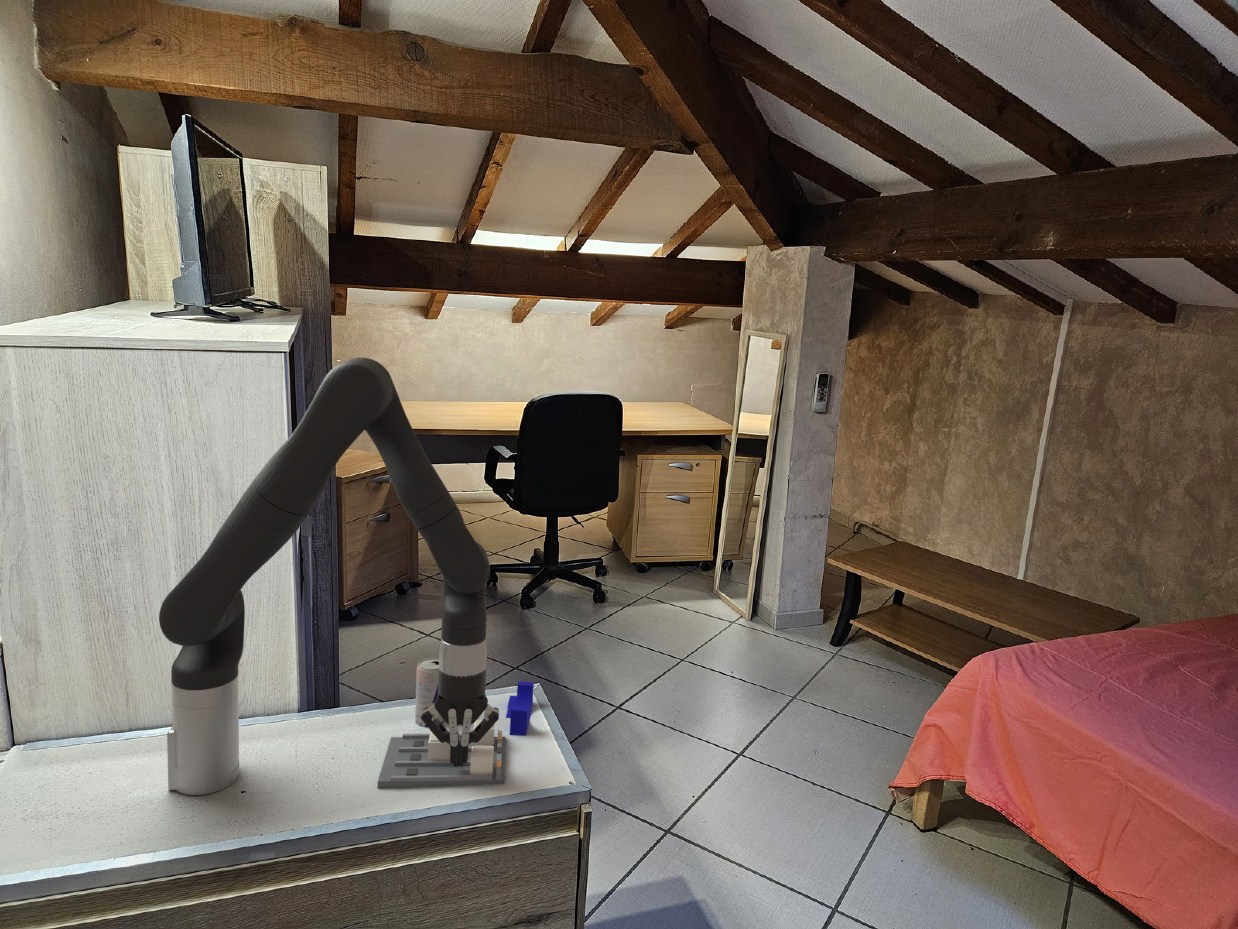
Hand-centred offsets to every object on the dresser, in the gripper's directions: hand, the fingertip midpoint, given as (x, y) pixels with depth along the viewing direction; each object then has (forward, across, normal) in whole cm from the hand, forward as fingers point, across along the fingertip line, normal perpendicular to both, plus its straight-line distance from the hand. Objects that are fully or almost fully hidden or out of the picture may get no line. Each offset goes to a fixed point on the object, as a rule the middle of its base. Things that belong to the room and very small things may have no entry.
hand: (458, 764), depth 128 cm
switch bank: (+3, -2, +4) cm, 6 cm away
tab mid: (+1, -4, +4) cm, 6 cm away
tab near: (+1, +4, 0) cm, 4 cm away
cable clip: (+3, +10, +18) cm, 21 cm away
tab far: (+1, +4, +9) cm, 10 cm away
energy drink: (+3, -6, +18) cm, 20 cm away
